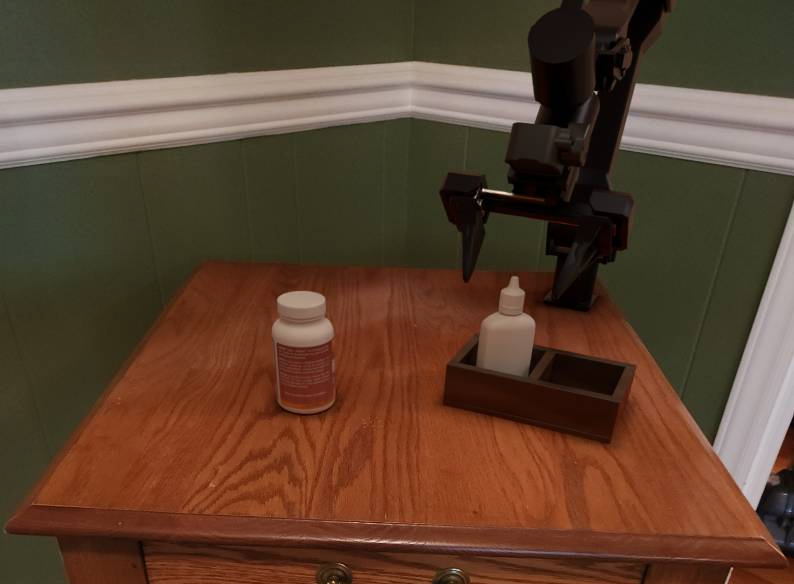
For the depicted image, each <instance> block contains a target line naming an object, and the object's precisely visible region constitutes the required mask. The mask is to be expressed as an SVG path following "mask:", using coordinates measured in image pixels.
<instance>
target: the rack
mask: <svg viewBox="0 0 794 584" xmlns="http://www.w3.org/2000/svg"><path fill="white" fill-rule="evenodd" d="M479 337H480V332H475V333H474V334H473V335H472V337H470V338H469V339H468V340H467V342H466V343H465V344H464V345H463V346H462V347H461V348H460V349H459V350H458V351H457V352H456V353H455V354H454V355H453V356H452V358H451V359H449V361H448V362H447V363H446V365H445V378H444V390H443V400H442V405H445V406H449V407H453V408H457V409H461V410H466V411H470V412H474V413H478V414H482V415H486V416H487V415H488V416H491V417H495V418H499V419H504V420H508V421H512V422H516V423H520V424H525V425H530V426H533V427H538V428H542V429H545V430H550V431H553V432H558V433H561V434H562V433H563V434H566V435H571V436H576V437H580V438H584V439H588V440H592V441H596V442H601V443H605V444H611V442H612V440H613V437H614V435H615V433H616V431H617V428H618V426H619V423H620V422H621V420H622V419H621V418H622V416H623V415H624V411H625V409H626V407H627V404H628V401H629V397H630V395H631V394H630V393H631V389H632V385H633V382H634V378H635V375H636V370H637V364H633V363H629V362H624V361H618V360H614V359H609V358H603V357H599V356H595V355H588V354H584V353H580V352H575V351H569V350H564V349H559V348H554V347H549V346H544V345H540V344H534V343H533V348H532V354H531V361H530V367H529V373H528V378H526V377H521V376H517V375H512V374H508V373H503V372H498V371H494V370H489V369H485V368H480V367H476V362H477V353H478V345H479Z"/></svg>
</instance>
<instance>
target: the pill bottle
mask: <svg viewBox="0 0 794 584" xmlns="http://www.w3.org/2000/svg"><path fill="white" fill-rule="evenodd" d="M326 302H327V301H326V298H325V296H324V294H321V293H319V292H315V291H309V290H296V291H288V292H286V293H282V294H281V295H279V296H278V297H277V300H276V307H277V309H276V310H277V313H278V316H279V318H277V319H276V320H275V321H274V323H273V324H272V327H271V341H272V343H271V344H272V352H273V353H272V354H273V355H272V356H273V368H274V381H275V392H276V401H277V403H278V405H279V406H280V407H281V408H282V409H283V410H285V411H288V412H291V413H295V414H301V415H311V414H313V415H314V414H317V413H321V412H323V411H326V410H327V409H329V408H330V407H332V406H333V404H334V403H335V401H336V369H335V367H336V365H335V331H334V326H333V323H332V322H331V321H330V319H328V318H327V317H325V316H326V312H327V304H326Z"/></svg>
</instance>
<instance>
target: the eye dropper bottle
mask: <svg viewBox="0 0 794 584" xmlns="http://www.w3.org/2000/svg"><path fill="white" fill-rule="evenodd" d="M525 297H526V292H525V290H523V289H522V288H520V280H519V277H518V276H516V275H513V276H511V277H510V280H509V283H508V285H507V287H504V288H502V289H501V290H500V295H499V303H498V304H499V305H498V311H496V312H493V313H492V314H489V315H488V316H487V317H485V318H484V319H483V320H482V322H481V324H480V330H479V333H480V337H479V345H478V353H477V362H476V367H480V368H485V369H489V370H494V371H498V372H503V373H508V374H512V375H517V376H521V377H526V378H528V373H529V367H530V361H531V354H532V348H533V344H534V340H535V333H536V322H535V319H534V318H532V316H530V315H529V314H528V313H525V312H523V311H524V304H525Z"/></svg>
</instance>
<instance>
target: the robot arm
mask: <svg viewBox="0 0 794 584" xmlns="http://www.w3.org/2000/svg"><path fill="white" fill-rule="evenodd" d="M676 4H677V0H588V1H587V3H586V0H561V3H560V6H559V7H556V8H553V9H552V10H548V12H545V13H544V14H543V15H541V16H540V17H539V18H538V19H537V20H536V21H535V22H534V24H533V25H531V26H530V28H529V31H528V35H527V46H528V56H529V65H530V73H531V83H532V91H533V98H534V101H535V102H536V103H539V108H538V110H537V114H536V117H535V120H534V123H531V122H522V121H516V122H513V123H512V125H511V128H510V133H509V138H508V142H507V146H506V151H505V155H504V160H503V161H504V164H508V166H509V167H508V171H507V174H506V178H507V183H508V184H509V185H512V187H511V191H503V190H496V189H489V185H488V181H487V177H486V174H485V173H481V172H474V171H465V170H458V169H452V170H450V171H448V172H447V173H446V174H445V175H444V176H443V178H442V181H441V184H440V187H439V190H438V194H439V197H440V200H441V203H442V206H443V209H444V212H445V214H446V217H447V220H448V222H449V223H451V224H452V225H454V226H455V227H456V229H457V231H458V232H459V233H461V238H462V240H461V241H462V242H461V243H462V244H461V247H462V249H461V250H462V251H461V252H462V258H461V260H462V262H461V263H462V265H461V266H462V270H461V271H462V277H461V278H462V280H463V283H464V284H468V283H469V282H470V280H471V278H472V276H473V274H474V272H475V267H476V265H477V262H478V259H479V256H480V252H481V249H482V246H483V243H484V239H485V237H486V229H485V226H484V225H486V224H488V220H489V218H490V215H491V213H493V214H499V215H509V216H514V217H520V218H527V219H530V220H536V221H543V222H547V227H546V238H545V239H546V240H545V253H544V254H545V256H549V257H550V256H551V257H552V256H554V257H556V264H555V268H554V269H555V270H554V275H553V281H552V287H551V289H550V291H548V293H547V294H546V295H545V297H544V298H543V303H544V304H549V305H553V306H560V307H565V308H571V309H576V310H582V311H590V310H591V308H592V307H593V306H594V304H595V302H596V301H597V300H598V298H599V293H597V292H594V291H595V286H596V281H597V277H598V276H597V275H598V272H599V267H600V264H601V265H604V266H607V265H608V264H609V263H615V261H616V258H617V253H618V252H622V251H625V250H627V249H628V247H629V243H630V241H631V237H632V234H633V230H634V225H635V215H636V214H635V213H636V199H635V197H634V195H633V194H632V192H625V191H619V190H613V187H612V182H611V181H612V177H613V173H614V170H615V166H616V162H617V157H618V154H619V150H620V146H621V143H622V138H623V134H624V132H625V126H626V124H627V120H628V116H629V112H630V108H631V104H632V100H633V96H634V92H635V89H636V85H637V81H638V77H639V74H640V69H641V65H642V61H643V57H644V55H645V54H646V53H647V52H648V51H649V49H651V47H652V46H653V45H654V44H655V42H656V41H657V40H658V39H659V38H660V37H661V35H662V34H663V32H664V29H665V25H666V22H667V18H668V15H669V14H673V12H674V9H675V7H676Z"/></svg>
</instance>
